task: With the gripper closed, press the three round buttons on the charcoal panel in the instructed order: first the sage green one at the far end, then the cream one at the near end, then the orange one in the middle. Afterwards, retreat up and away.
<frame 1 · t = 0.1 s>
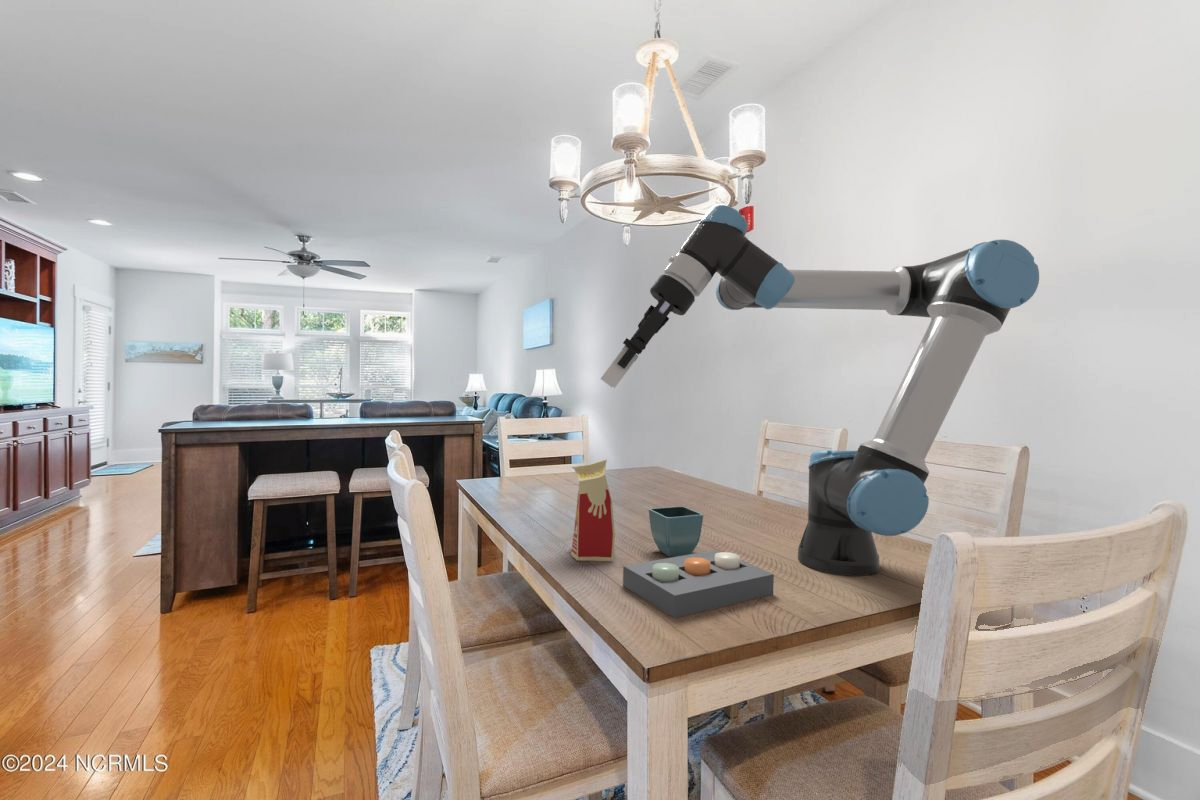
hand: (606, 383, 95), 36 cm above the table, tool tilted 35°, fingers open, 13 cm apart
sage button: (665, 574, 91), point 4 cm above the table, slide at 0.0 cm
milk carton: (592, 555, 113), on the table
flower pot: (674, 554, 115), on the table
orange button: (697, 568, 94), point 4 cm above the table, slide at 0.0 cm
button panel: (696, 589, 94), on the table
cream button: (727, 563, 97), point 4 cm above the table, slide at 0.0 cm
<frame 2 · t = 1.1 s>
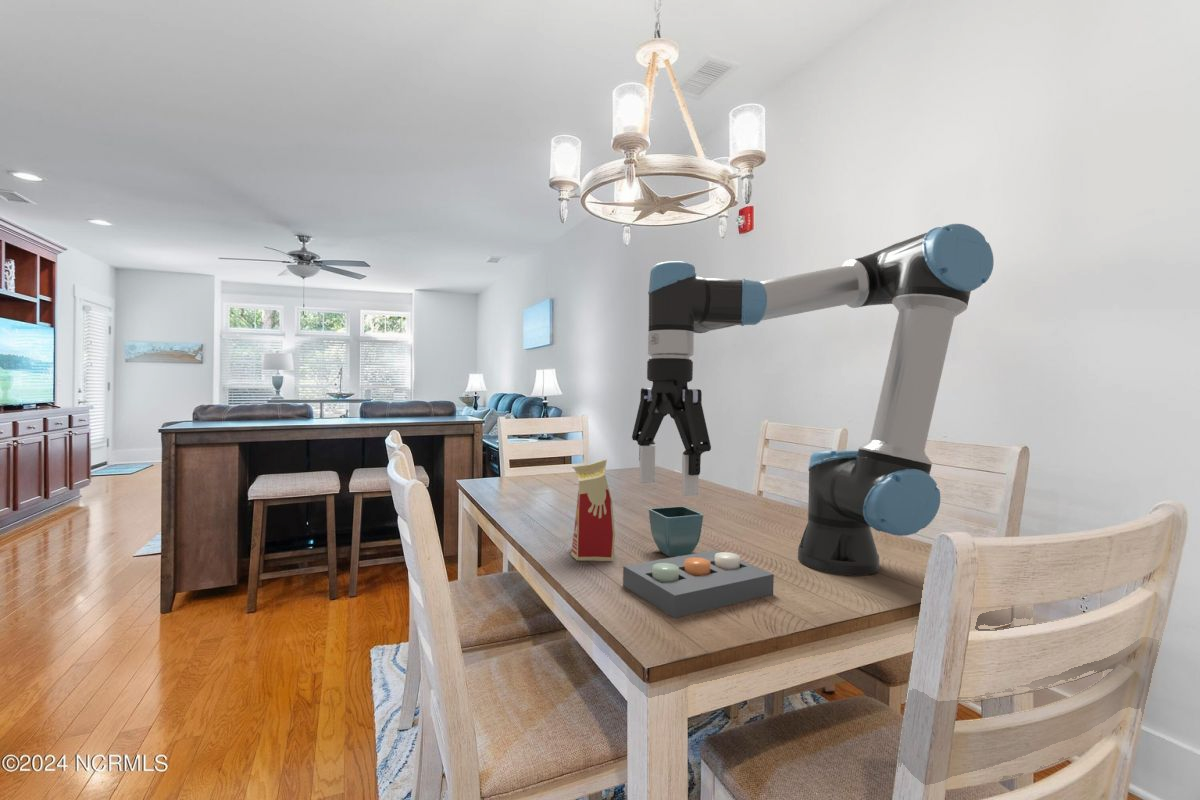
hand: (667, 488, 90), 18 cm above the table, tool pointing down, fingers open, 11 cm apart
nothing on the table moved.
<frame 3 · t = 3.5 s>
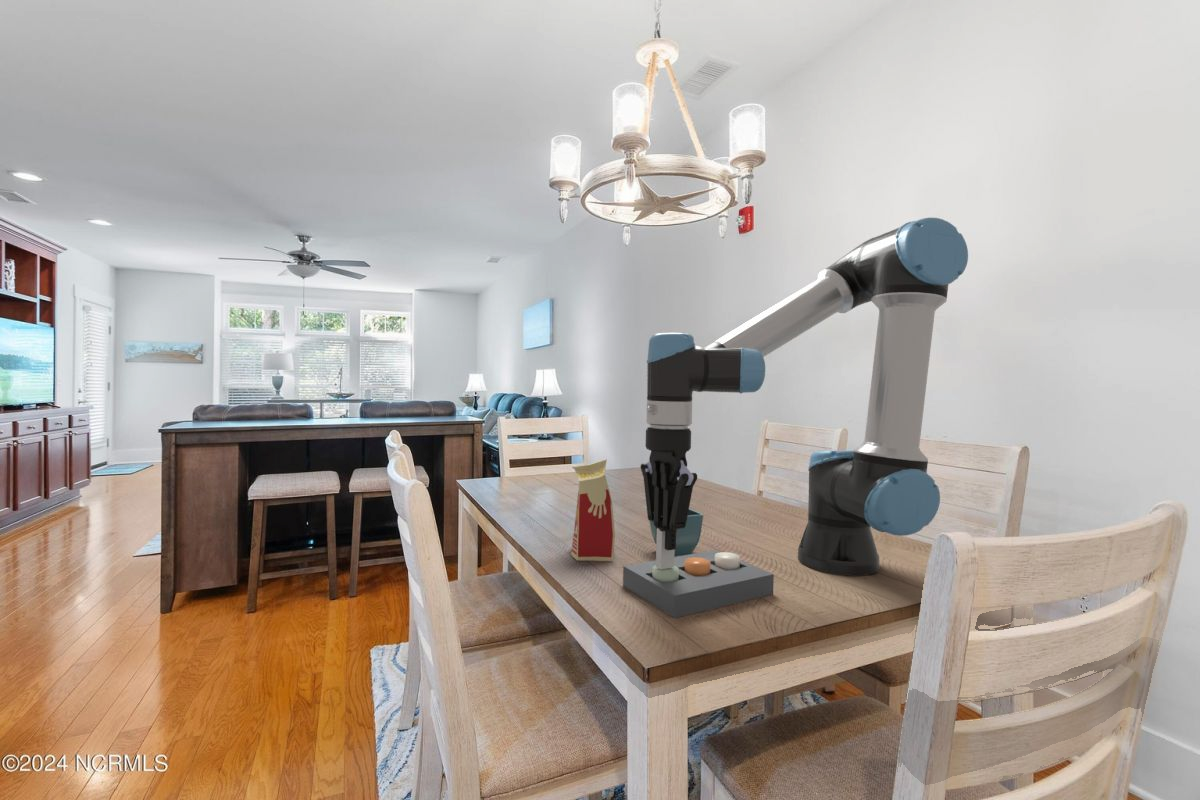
hand: (664, 566, 91), 5 cm above the table, tool pointing down, fingers closed
sage button: (665, 576, 91), point 3 cm above the table, slide at 0.2 cm, touching gripper
everything else where it was.
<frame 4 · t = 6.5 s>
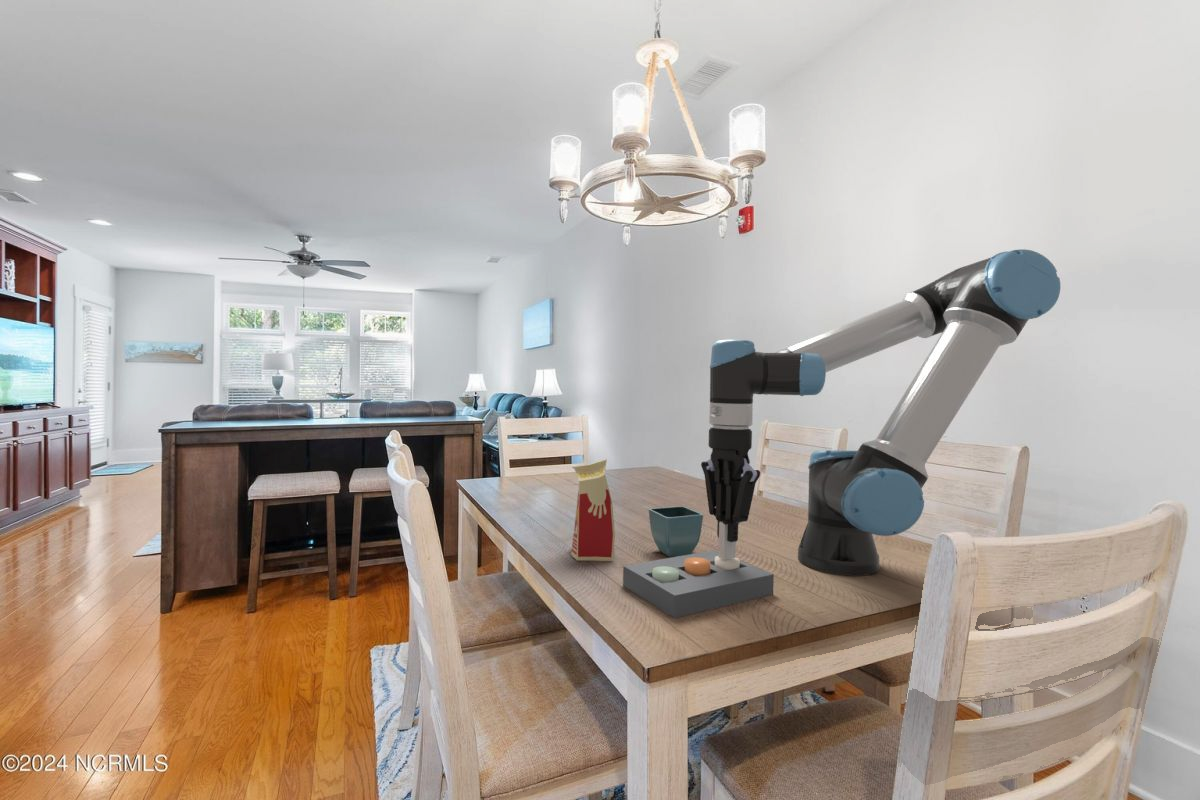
hand: (726, 557, 97), 5 cm above the table, tool pointing down, fingers closed
sage button: (665, 578, 91), point 3 cm above the table, slide at 0.6 cm
cream button: (727, 566, 97), point 3 cm above the table, slide at 0.6 cm, touching gripper
everything else where it was.
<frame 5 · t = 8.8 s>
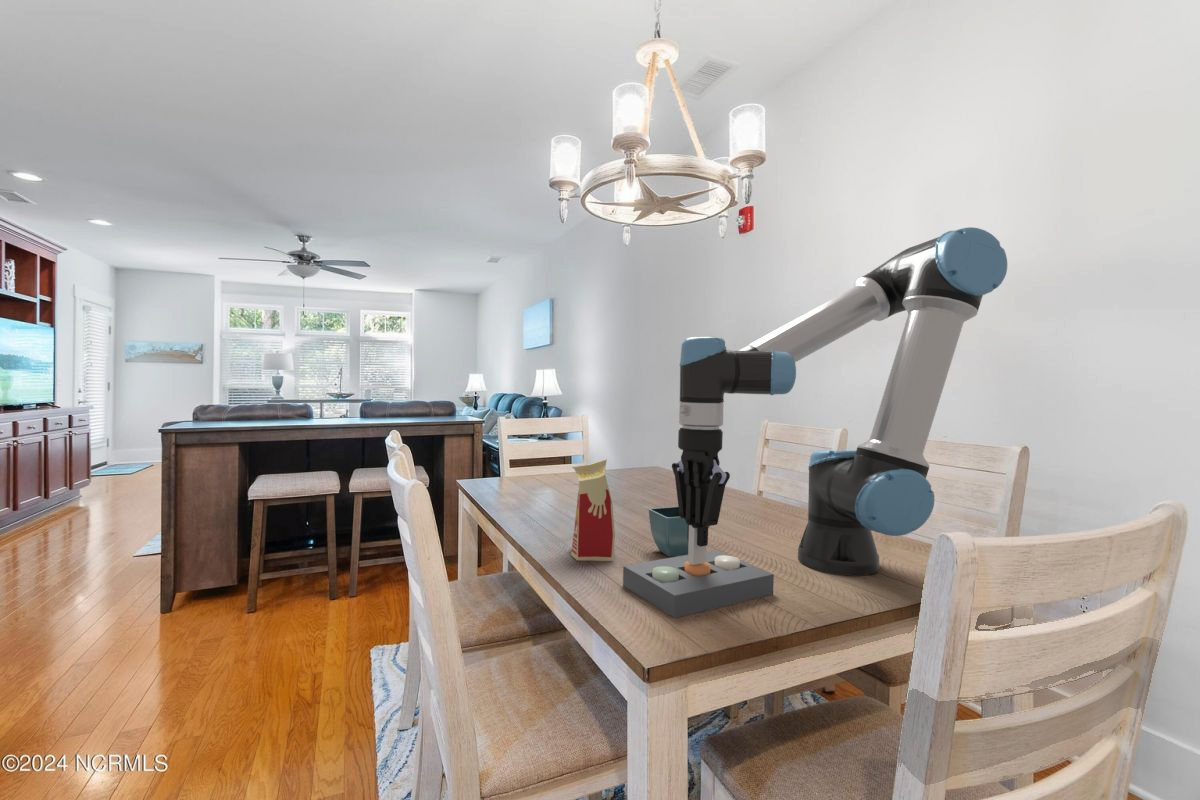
hand: (696, 562, 94), 5 cm above the table, tool pointing down, fingers closed
orange button: (697, 571, 94), point 3 cm above the table, slide at 0.5 cm, touching gripper
cream button: (727, 566, 97), point 3 cm above the table, slide at 0.6 cm
everything else where it was.
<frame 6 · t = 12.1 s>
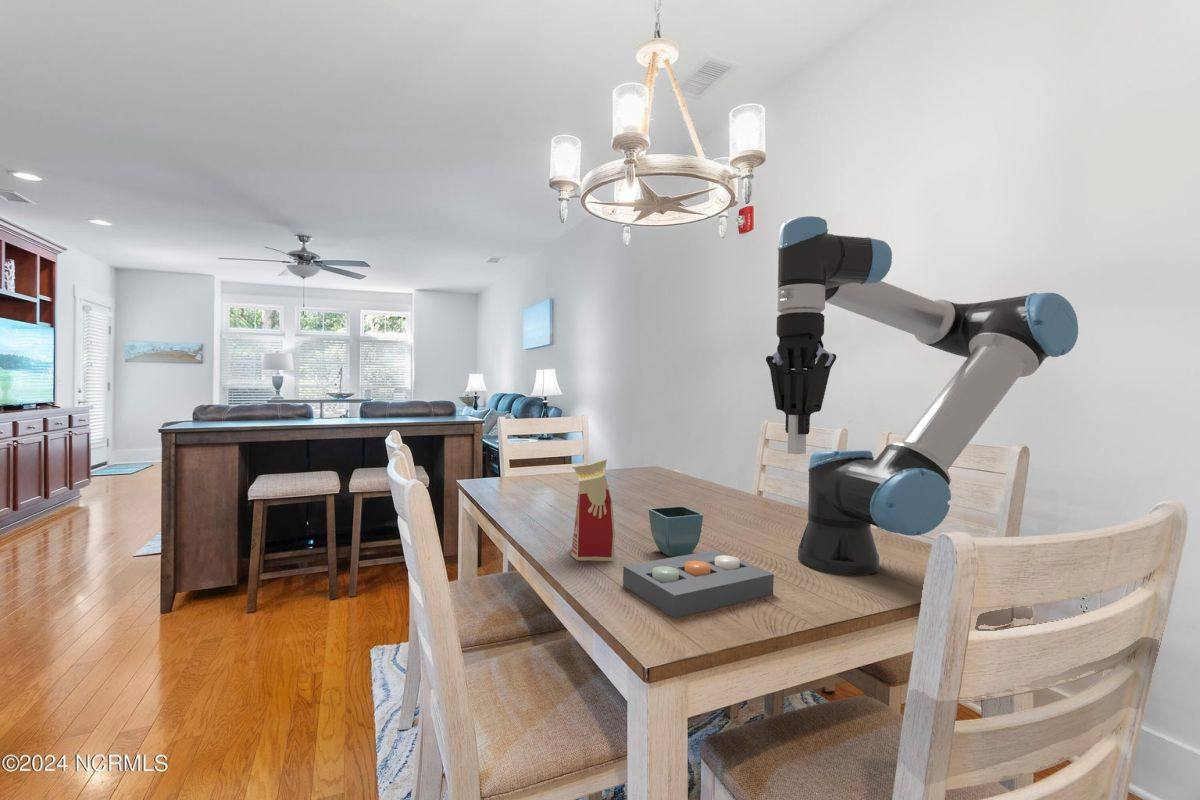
hand: (796, 453, 91), 24 cm above the table, tool pointing down, fingers closed
orange button: (697, 572, 94), point 3 cm above the table, slide at 0.6 cm
everything else where it was.
at the end: sage button slide at 0.6 cm; cream button slide at 0.6 cm; orange button slide at 0.6 cm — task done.
